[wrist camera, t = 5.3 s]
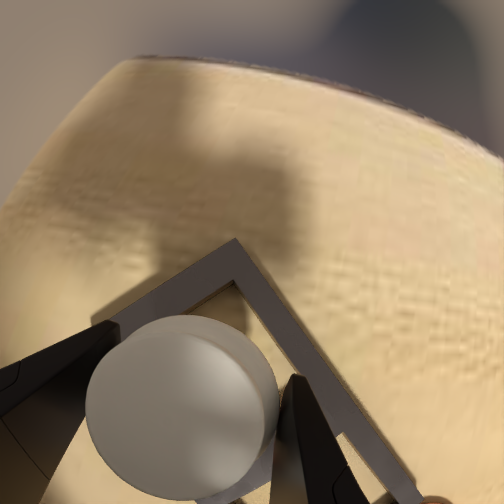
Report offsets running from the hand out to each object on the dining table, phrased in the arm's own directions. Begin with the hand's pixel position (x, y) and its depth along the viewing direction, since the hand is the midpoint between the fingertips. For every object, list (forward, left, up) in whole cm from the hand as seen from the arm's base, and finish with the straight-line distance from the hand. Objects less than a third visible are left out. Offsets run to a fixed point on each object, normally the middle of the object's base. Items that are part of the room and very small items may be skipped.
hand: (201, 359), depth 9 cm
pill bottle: (-1, -1, -7) cm, 7 cm away
